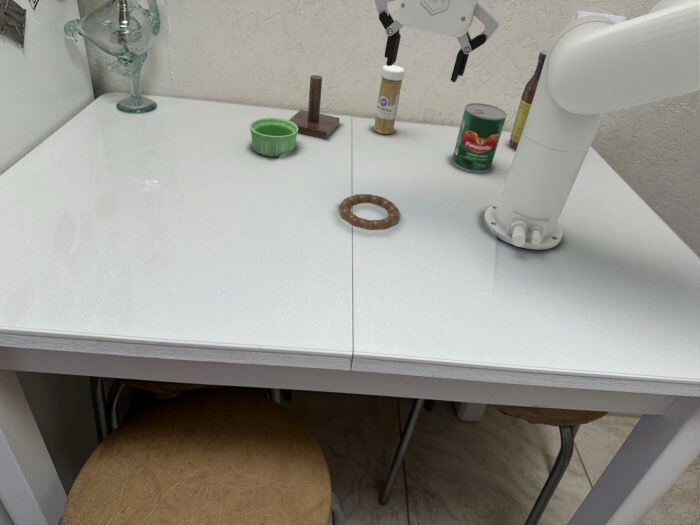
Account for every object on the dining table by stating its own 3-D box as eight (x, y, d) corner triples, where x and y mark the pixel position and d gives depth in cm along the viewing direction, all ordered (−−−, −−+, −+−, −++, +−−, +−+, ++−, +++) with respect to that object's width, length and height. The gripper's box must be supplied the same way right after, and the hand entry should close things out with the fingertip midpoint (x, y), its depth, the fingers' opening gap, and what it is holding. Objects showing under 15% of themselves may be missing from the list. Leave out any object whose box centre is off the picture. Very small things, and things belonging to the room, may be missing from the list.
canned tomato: (477, 154, 103) (492, 102, 96) (498, 172, 97) (515, 118, 90) (444, 156, 100) (457, 102, 94) (463, 174, 94) (478, 118, 88)
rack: (326, 139, 100) (330, 87, 94) (285, 129, 102) (286, 78, 95) (339, 124, 107) (344, 75, 101) (300, 116, 109) (303, 67, 103)
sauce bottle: (533, 143, 111) (565, 51, 99) (538, 155, 106) (574, 59, 94) (504, 139, 111) (533, 47, 99) (508, 150, 106) (540, 54, 94)
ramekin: (261, 135, 98) (261, 113, 96) (303, 145, 97) (305, 123, 94) (241, 152, 91) (241, 129, 89) (286, 162, 90) (287, 140, 87)
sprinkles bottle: (370, 131, 106) (379, 67, 98) (376, 125, 110) (386, 62, 101) (390, 136, 105) (401, 72, 97) (396, 129, 109) (407, 67, 101)
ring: (391, 240, 73) (393, 230, 72) (330, 224, 75) (331, 214, 74) (403, 210, 81) (405, 200, 80) (348, 196, 82) (349, 187, 81)
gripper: (380, -80, 60) (359, 63, 71) (521, -53, 57) (477, 93, 68) (395, -80, 66) (373, 52, 76) (523, -55, 63) (482, 79, 73)
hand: (422, 71), depth 72 cm, fingers open, 9 cm apart
